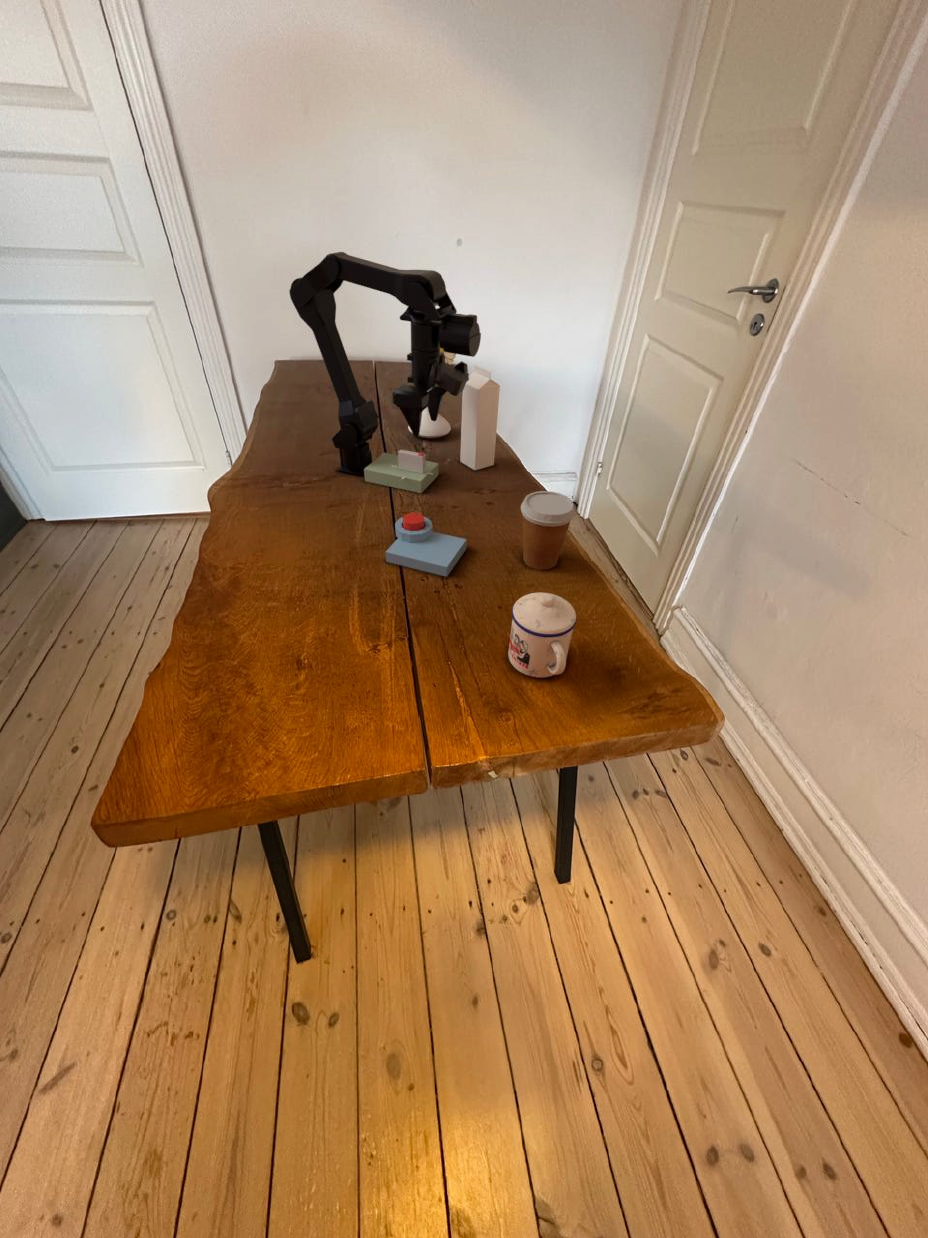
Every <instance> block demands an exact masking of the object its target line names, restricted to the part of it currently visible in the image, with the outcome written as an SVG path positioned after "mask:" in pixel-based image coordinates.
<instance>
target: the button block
mask: <svg viewBox="0 0 928 1238" xmlns="http://www.w3.org/2000/svg"><path fill="white" fill-rule="evenodd" d="M394 525H395V526H394V528H395V529H394V530H395V537H396V538H397V539H395V541H394V542H393V543H392V544H391V545H390V546H389V547H388V548H387V550H386V551H385V561H386V562H387V563H390V564H393V565H394V564H395V565H399V566H402V567H406V568H410V569H415V570H419V571H422V572H427V573H430V574H434V575H437V576H442V577H448V576H449V575H450V573H451V572H452V570H453V569H454V568H455V566H456V565H457V563H458V562H459V561H460V559H461V558H462V556H463V554H464V552H465V551H466V550H467V541H468V540H467V538H464V537H463V538H462V537H458V536H454V535H451V534H445V533H441V532H437V531H434V529H433V528H434V526H433V521H432V520H430V519H429V518H428V517H426V516H424V529H422V530H419V531H409V530H405V529H404V527H403V517H400V518H398V519H397V521H395V523H394Z"/></svg>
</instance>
